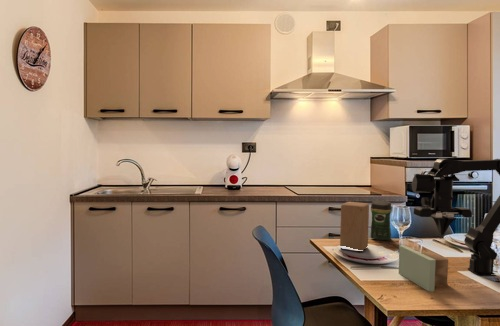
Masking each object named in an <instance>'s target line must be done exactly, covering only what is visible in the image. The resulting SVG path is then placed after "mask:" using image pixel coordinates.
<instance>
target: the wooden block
mask: <svg viewBox="0 0 500 326" xmlns="http://www.w3.org/2000/svg"><path fill="white" fill-rule="evenodd" d="M369 218H370V204H369V203H367V202H366V203H365V202H359V201H358V202H357V201H346V202H344V203H343V204H341V205H340V233H339V234H340V235H339V237H340V238H339V247H340V246H346V247H350V248H353V249H358V250H364V249H365V248H366V247H367V246H369V223H370V220H369ZM367 248H368V247H367ZM367 248H366V249H367ZM366 249H365V250H366ZM365 250H364V251H365Z"/></svg>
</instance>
